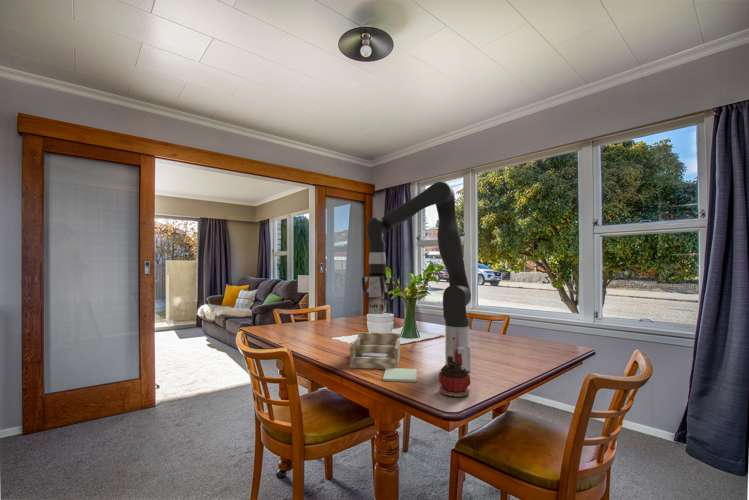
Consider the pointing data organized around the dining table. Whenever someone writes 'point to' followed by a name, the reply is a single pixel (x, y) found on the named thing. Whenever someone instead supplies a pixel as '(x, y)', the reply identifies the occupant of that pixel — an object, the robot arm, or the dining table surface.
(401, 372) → the mat
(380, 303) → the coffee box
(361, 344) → the crate
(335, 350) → the dining table surface
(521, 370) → the dining table surface
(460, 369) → the red potted plant
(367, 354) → the offcut upper
